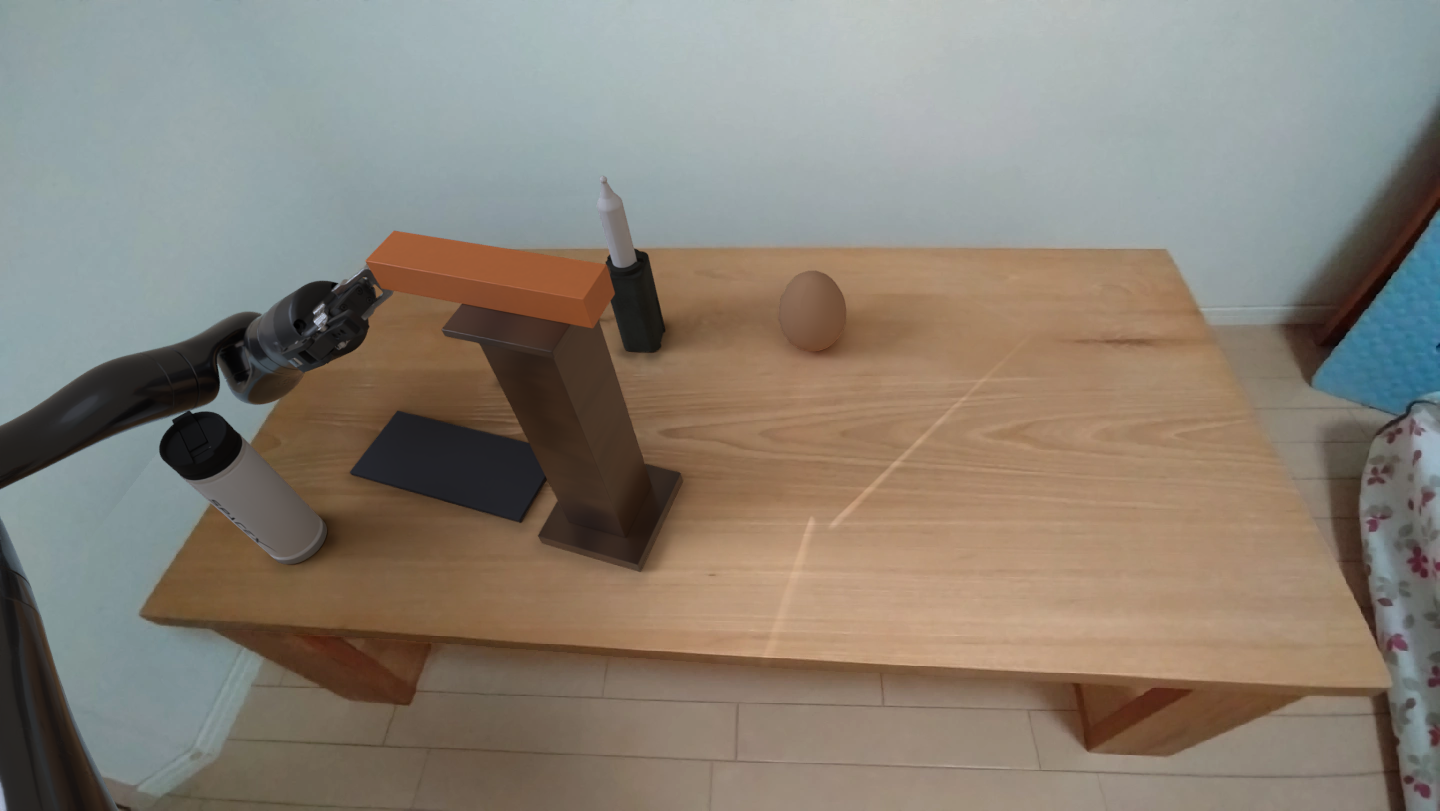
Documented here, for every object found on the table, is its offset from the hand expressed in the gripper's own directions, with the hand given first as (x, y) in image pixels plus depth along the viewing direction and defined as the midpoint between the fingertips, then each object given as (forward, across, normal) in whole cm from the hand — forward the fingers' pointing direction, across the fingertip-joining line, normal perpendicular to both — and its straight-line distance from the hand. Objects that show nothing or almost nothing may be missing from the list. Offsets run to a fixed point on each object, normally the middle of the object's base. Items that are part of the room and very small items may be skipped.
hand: (388, 287), depth 68 cm
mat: (-21, -1, -23) cm, 31 cm away
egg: (+10, -30, -41) cm, 52 cm away
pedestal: (-2, 0, -33) cm, 33 cm away
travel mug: (-32, +14, -17) cm, 38 cm away
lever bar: (+11, 0, -4) cm, 12 cm away
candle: (-9, -26, -30) cm, 40 cm away
